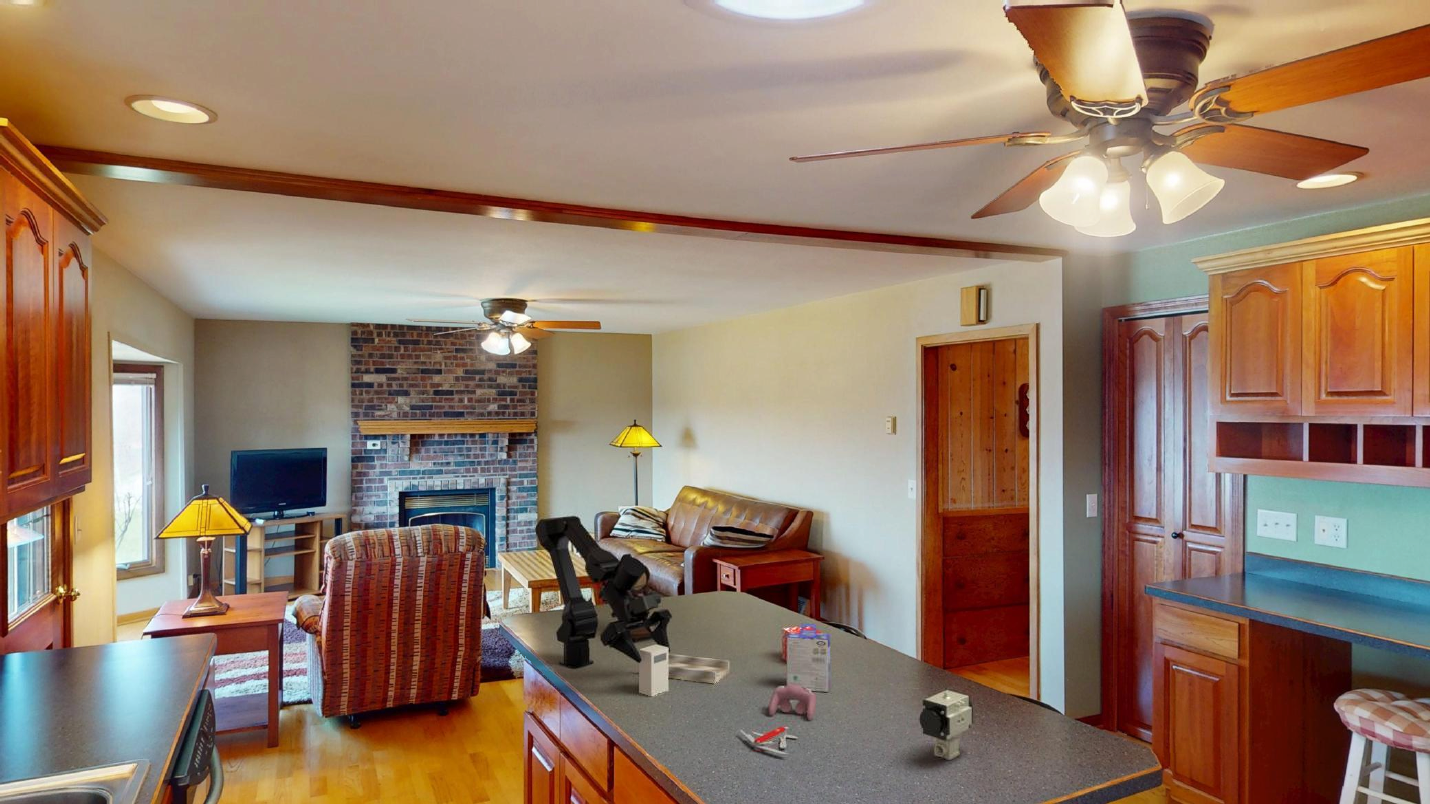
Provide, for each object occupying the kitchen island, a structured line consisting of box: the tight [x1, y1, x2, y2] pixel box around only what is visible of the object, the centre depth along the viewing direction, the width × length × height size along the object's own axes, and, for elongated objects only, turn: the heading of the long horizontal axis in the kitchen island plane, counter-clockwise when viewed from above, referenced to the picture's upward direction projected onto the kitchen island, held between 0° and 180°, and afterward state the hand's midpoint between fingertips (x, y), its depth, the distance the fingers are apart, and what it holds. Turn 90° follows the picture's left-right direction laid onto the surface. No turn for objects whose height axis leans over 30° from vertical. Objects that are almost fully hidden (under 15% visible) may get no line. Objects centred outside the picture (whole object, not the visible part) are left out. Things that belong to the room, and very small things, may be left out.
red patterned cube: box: [781, 626, 824, 662], centre depth 216 cm, size 8×8×8 cm
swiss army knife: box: [739, 726, 799, 756], centre depth 163 cm, size 12×14×2 cm
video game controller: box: [768, 684, 817, 721], centre depth 178 cm, size 10×5×7 cm, turn 71°
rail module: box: [638, 643, 670, 697], centre depth 192 cm, size 4×6×10 cm
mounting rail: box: [668, 653, 730, 685], centre depth 206 cm, size 20×10×3 cm, turn 69°
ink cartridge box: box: [786, 622, 831, 693], centre depth 195 cm, size 10×6×14 cm, turn 78°
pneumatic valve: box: [919, 688, 974, 761], centre depth 157 cm, size 6×12×12 cm, turn 133°
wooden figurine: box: [629, 564, 651, 643], centre depth 240 cm, size 15×15×20 cm
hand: (654, 657), depth 192 cm, fingers open, 9 cm apart
